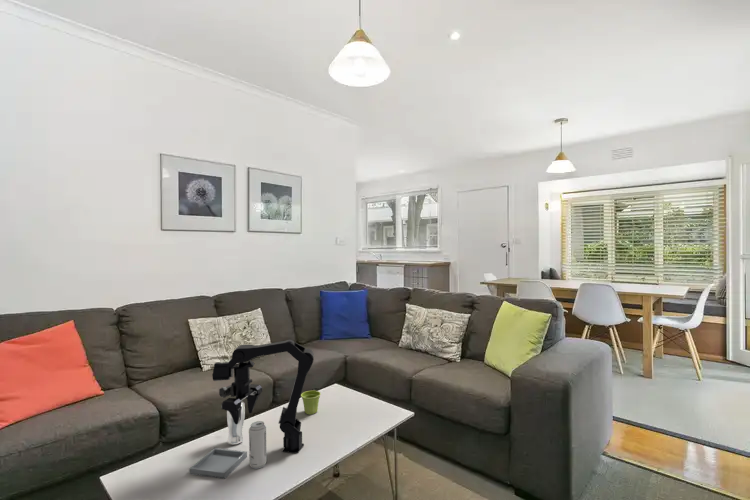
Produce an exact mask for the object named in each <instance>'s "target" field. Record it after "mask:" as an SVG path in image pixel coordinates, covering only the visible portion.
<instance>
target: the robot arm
mask: <svg viewBox="0 0 750 500" xmlns="http://www.w3.org/2000/svg"><path fill="white" fill-rule="evenodd" d="M286 352H287V353H288V354H289V355H291V356H292V357H293V358H294V359H295V360H296V361H298V364H297V373H296V376H295V381H294V384H293V388H292V391H291V395H290V397H289V401H288V404H287V406H286V407H285V406H283V407H282V411H281V413H280V417H279V420H278V424H279V429H280V431H281V433H283V434H284V435H283V438H282V439H283V445H282V446H283V449H282V452H283V453H292V454H298V453H299V452H300V451H301V449H303V447H304V445H305V444H304V443H303V431H301V430H302V429H301V427H302V422H301V421H300V420H299V419H298V418H297V411H298V405H299V402H300V398H301V394H302V393H303V389H304V384H305V381H306V378H307V375H308V373H309V371H310V369H311V367H312V365H313V363H314V357H315V353H314V350H312V349H310V348H305V347H304V346H303V345H301V344H299V343H297V342H295V341H294V340H293V339H287V340H283V341H276V342H270V343H265V344H260V345H259V344H257V345H256V344H255V345H253V344H240V345H238V346H237V347H236V348H235V349H234V350H233V351H232V353H231V358H230V359H229V360H228V361H225V362H220V361H219V362H215V363H214V364H213V370H212V376H211V377H212V380H213V381H214V382H219V381H229V380H231V378H233V380H234V381H233V382H232V383H231V384H230V385H227V386H223V387H220V388H219V392H218V393H219V394H218V395H219V397H221V398H223V399H224V398H225V400H223V401H222V403H221V404H220V405H221V410H224V411H226V412H227V411H229V412H230V414H231V416H232V418H233V420H234V423H235V424H238V422H239V418H240V413H241V409H242V407H240V406H241V402H243V400H245V399H246V402H247V409H248V410H247V411H248V414H252V413H253V411H254V409H255V406H256V404H257V402H258V399H259V398H260V396H261V393H262V392H263V386H261V384H251V383H253V379H251V377H250V376H251V375H250V368H253V367H254V366H255V362H254V361H252V360H254V359H255V358H258V357H263V356H268V355H269V356H270V355H275V354H279V353H286ZM229 396H230V397H229ZM226 397H228V398H226ZM234 397H235V398H234Z"/></svg>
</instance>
